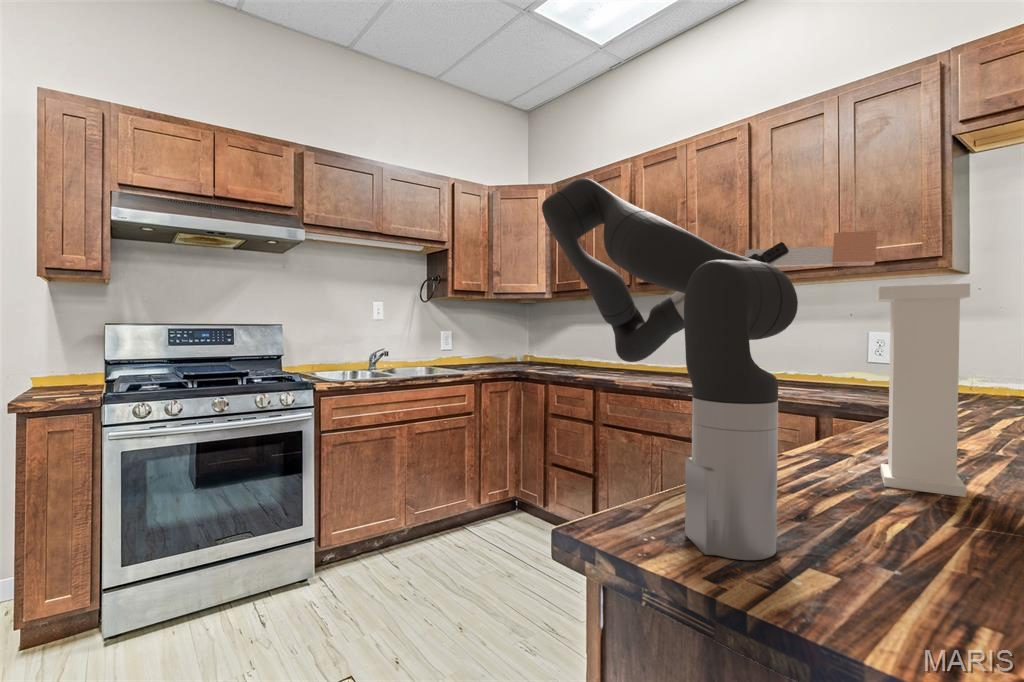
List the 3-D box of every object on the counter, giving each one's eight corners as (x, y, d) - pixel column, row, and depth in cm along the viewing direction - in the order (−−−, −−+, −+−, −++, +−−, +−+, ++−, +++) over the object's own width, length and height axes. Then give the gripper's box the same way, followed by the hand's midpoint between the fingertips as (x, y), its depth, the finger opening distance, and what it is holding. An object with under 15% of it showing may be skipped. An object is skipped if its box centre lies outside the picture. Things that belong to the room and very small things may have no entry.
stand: (876, 485, 84) (879, 286, 83) (873, 471, 92) (876, 290, 92) (966, 497, 78) (970, 283, 77) (954, 480, 86) (957, 288, 86)
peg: (743, 265, 96) (744, 237, 96) (748, 268, 101) (749, 242, 101) (875, 261, 85) (877, 230, 85) (873, 265, 90) (875, 236, 90)
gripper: (682, 279, 98) (771, 224, 90) (700, 284, 110) (779, 236, 101) (702, 313, 96) (795, 260, 88) (718, 315, 108) (801, 268, 100)
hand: (786, 248), depth 95 cm, fingers closed on peg, 3 cm apart
